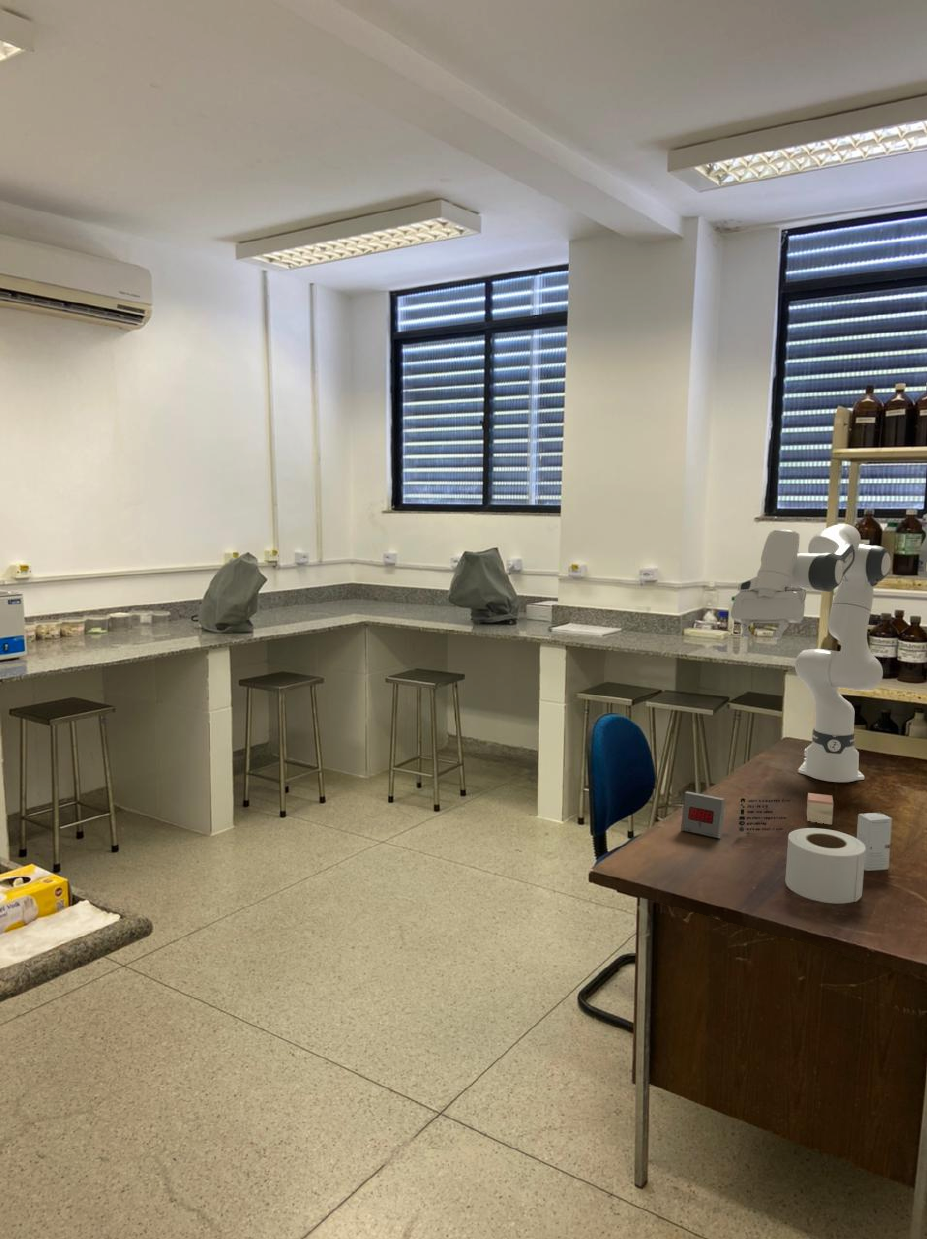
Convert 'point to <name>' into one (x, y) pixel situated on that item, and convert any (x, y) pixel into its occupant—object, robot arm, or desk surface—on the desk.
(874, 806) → the desk surface
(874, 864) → the skincare box
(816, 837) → the roll of tape
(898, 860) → the desk surface
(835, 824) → the desk surface
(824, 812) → the birch cube
